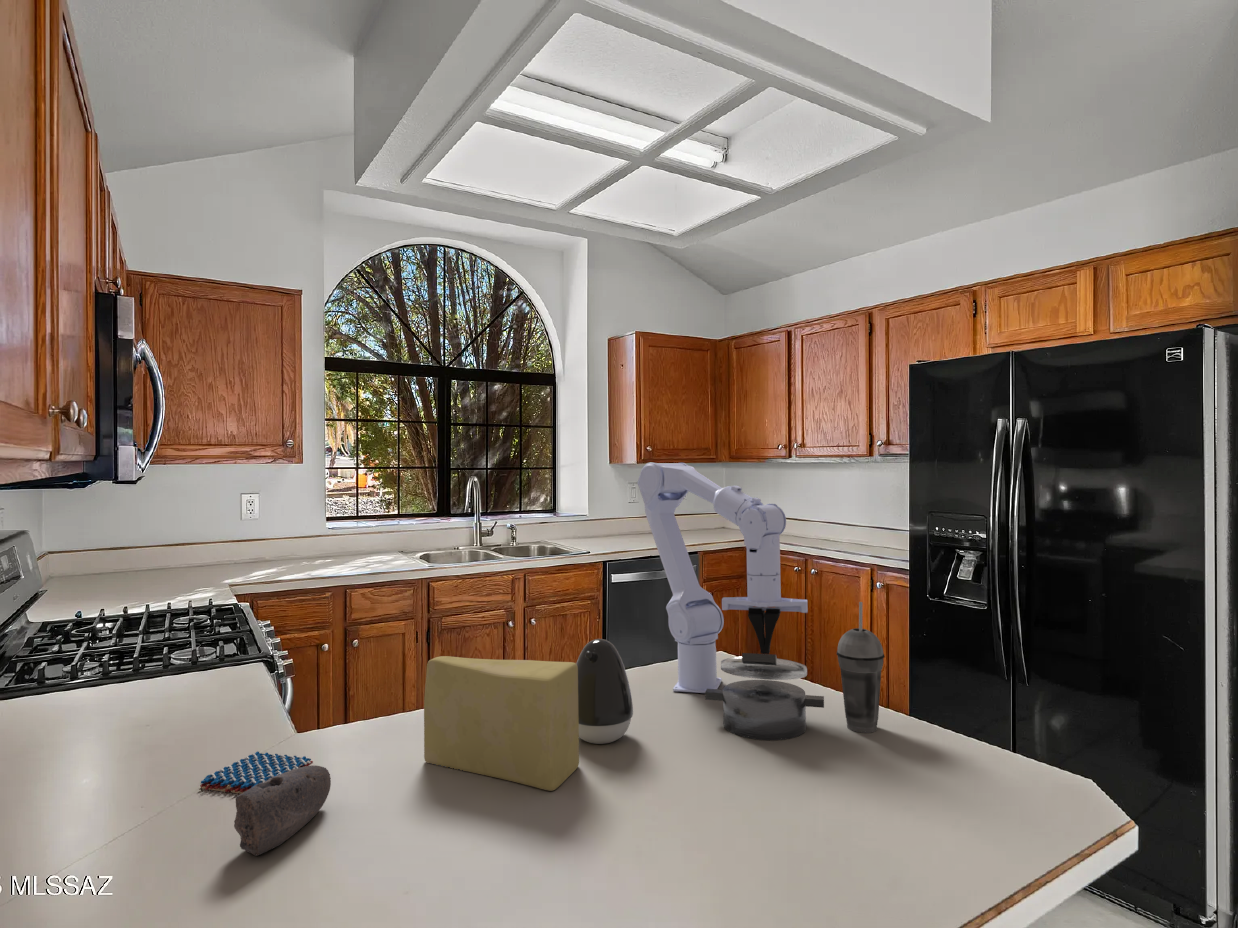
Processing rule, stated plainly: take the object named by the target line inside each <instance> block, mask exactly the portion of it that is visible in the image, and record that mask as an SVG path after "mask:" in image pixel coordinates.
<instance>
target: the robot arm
mask: <svg viewBox="0 0 1238 928" xmlns="http://www.w3.org/2000/svg"><path fill="white" fill-rule="evenodd" d="M637 486H638V488H639V489H638V490H639V491H640V495H641V499H642V500H643V503H644V512H645V517H646V520H647V522H648V525H649V528H650V531H651V534H652V537H653V540H654V543H655V545H656V548H657V551H658V555H659V557H660V561H661V563H662V566H663V569H664V573H665V576H666V578H667V581H668V584H669V587H670V590H671V592H672V596H671V598H670V600H669V601H668V603H667V604H666V606H665V610H666V612H667V616H668V618H667V619H668V620H667V621H668V628H669V631H670V634H671V636H672V637H673V638H674V642H677V677H678V678H677V682H676V683H675V685H674V686H673V688H672V690H673V692H683V693H697V694H698V693H700V694H705V692H706V690H707V689H719V686H720V685H721V683H722V680H723V679H722V677H718V676H717V665H718V664H717V648H716V646H717V644H716V640H719V635H718V634H720V632H721V631H722V629H723V628H724V623H725V622H724V621H725V620H724V619H725V617H724V614H723V612H722V611H728V610H737V611H748V613H747V616H748V619H749V621H750V623H751V625H752V627H753V629H754V632H755V634H756V637H757V640H758V645H759V649H760V654H770V653H771V652H770V651H771V643H772V640H773V639H772V638H773V634H774V631H775V628H776V625H777V623H778V621H779V618H780V616H781V613H782V612H794V613H796V612H799V613H803V614H808V612H809V611H808V599H802V598H799V599H798V598H787V597H782V593H781V589H782V586H781V583H782V582H781V580H782V579H781V541H780V538H781V534H783V533H784V531H785V529H786V528H787V527H786V525H787V517H786V514H785V512H784V511H783V509H782V508H781V507H779V506H778V504H776V503H767V504H764V503H763V502H762V500H761V498H760V497H755V496H754V497H753V496H751V495H749V494H748V493H746V492H743V491H742V490H743V488H742V487H741V486H739V485H728V486H724V487H722V486H721V485H718V484H717V483H716V482H714V481H712V480H711V479H709V478H708V477H706V476H705V475H703V473H702V474H701V473H700V472H699V471H698V470H696V468H695V467H694V466H691V465H689V464H687V463H685V462H678V463H677V462H676V463H675V462H673V463H669V462H668V463H666V462H665V463H664V462H663V463H660V462H659V463H657V462H647V463H645V464H644V465H643V466H642V468H641V470H640V473H639V477H638V480H637ZM689 492H690V494H693V495H694V496H697V497H699V498H701V499H703V500H705V501H707V502H709V503H711V504H712V505H713V509H714V512H715V513H716V514H717V515H719V516H721V517H722V518H724V519H725V520H727V521H729V522H731V523H732V524H734V525H735V526H737V527H738V529H739V531H740V533H741V535H742V536H743V543H744V546H745V548H746V583H747V584H746V585H747V587H746V588H747V589H746V593H747V596H735V597H730V596H729V597H724V596H723V597H722V598H721V608H720V607H719V605H718V604H717V603H716V602H715V600H714V596H713V595H712V594H711V592H709V591H707V590H706V589H704V588H703V587H701V585H700V583H699V580H698V577H697V575H696V572H695V569H694V566H693V563H692V561H691V558H690V556H689V555H690V554H689V552H688V549H687V546H686V544H685V541H684V538H683V535H682V533H681V529H680V527H679V524H678V521H677V519H676V516H675V511H676V508H679V506H680V505H681V503H682V502H683V500H684V499H685V498H686V496H687V495H688V493H689Z"/></svg>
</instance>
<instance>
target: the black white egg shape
mask: <svg viewBox="0 0 1238 928" xmlns="http://www.w3.org/2000/svg"><path fill="white" fill-rule="evenodd" d="M577 658H578V659H577V660H576V662H575V663H576V664H577V666H578V718H579V739H581V740H582V741H585V742H587V743H589V744H595V745H602V744H603V745H604V744H610V743H613V742H615V741H618V740H619V739H621V738H622V737H623V736H624V735H625V734H626V733H627V732H628V729H629V726H630V724H631V720H632V718H633V715H634V704H633V697H632V691H631V688H630V687H631V686H630V682H629V679H628V675H627V672H626V668H625V664H624V663H623V659H622V657H621V655H620V653H619V651H618V650H617V648H616V646H615V645H614V644H613V643H612V642H610V641H608V640H607V639H603V638H596V639H593V640H590V641H588V642H587V643H586V645H584V647H583V648H582V650H581V651H580V654H579V655H578V657H577Z"/></svg>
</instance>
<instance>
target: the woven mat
mask: <svg viewBox="0 0 1238 928" xmlns="http://www.w3.org/2000/svg"><path fill="white" fill-rule="evenodd" d="M313 763H314V761H313V760H312V758H310V757H309V758H308V757H306V755H304V756H302V757H300V756H299V757H298V756H297V755H293V756H290V755H287V754H284V755H281V754H280V755H279V754H278V753H275V754H270V753H269V752H267V751H266V752H265V753H262V752H261V753H260V751H258V750H257V751H256V752H254V753H252V754H249V755H248V756H246V757H244V758H241V759H240V760H237V761H235V762H233V763H232V764H231V765H230V764H229V765H228V766H224V767H223V768H221V769H219V770H218V771H217V770H216V771H215V772H214V773H210V774H207V775H206V776H205V777H204V779H202V780H201V781H200V782H199V783H200V785H199V786H200V788H201V789H203V790H206V791H208V790H209V791H210V790H211V791H219V792H226V793H233V794H234V793H235V794H242V793H244V792H245V791H247V790H249V789H250V788H252V787H254V786H255V785H257V784H259V783H262V782H265V781H267V780H268V779H270V778H272V777H274V776H278V775H280V774H282V773H285V772H288V771H290V770H293V769H297V768H300V767H305V766H312V764H313Z"/></svg>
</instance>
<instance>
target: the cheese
mask: <svg viewBox="0 0 1238 928" xmlns="http://www.w3.org/2000/svg"><path fill="white" fill-rule="evenodd" d="M576 663H577V662H571V661H550V660H548V661H547V660H532V659H489V658H471V657H469V658H468V657H459V656H448V655H447V656H446V655H445V656H444V655H442V656H436V657H433V658H431V659H429V660H428V662H427V664H426V672H425V673H426V675H425V684H424V685H425V686H424V697H423V699H424V700H423V748H424V749H423V751H424V752H423V753H424V754H423V758H424V762H426V763H427V762H428V763H427V764H429V763H432V764H431V765H433V764H436V765H435V766H438V765H441V766H440V767H443V766H446V767H445V768H448V767H450V768H449V769H453V768H454V770H458V769H460V770H459V771H462V770H463V771H464V772H467V773H468V772H469V773H471V774H472V773H473V774H478V775H480V776H481V775H482V776H487V777H492V778H496V779H501V780H504V781H509V782H513V783H517V784H521V785H524V786H529V787H533V788H535V789H536V788H537V789H540V790H543V791H549V792H552V791H555V790H557V789H558V788H559V787H560V786H561V785H562V784H563V783H564V782H566V780H567V779H568V778H569V777H570V776H571V775H572V774H573V773H574V772H575V771H576V770H577V769H578V767H579V764H580V738H579V718H578V666H577V664H576Z"/></svg>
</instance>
